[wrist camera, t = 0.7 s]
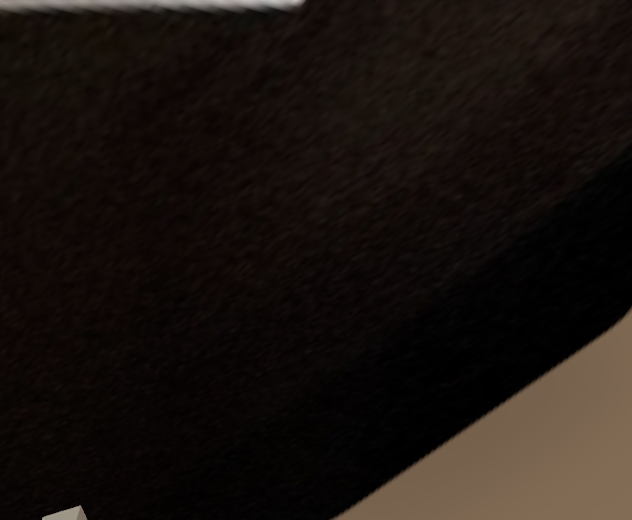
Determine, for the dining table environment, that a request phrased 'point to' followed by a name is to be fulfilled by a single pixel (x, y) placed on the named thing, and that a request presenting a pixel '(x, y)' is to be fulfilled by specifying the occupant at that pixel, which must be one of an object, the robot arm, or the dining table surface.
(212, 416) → the dining table surface
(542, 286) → the dining table surface
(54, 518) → the robot arm
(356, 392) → the dining table surface
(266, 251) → the dining table surface
